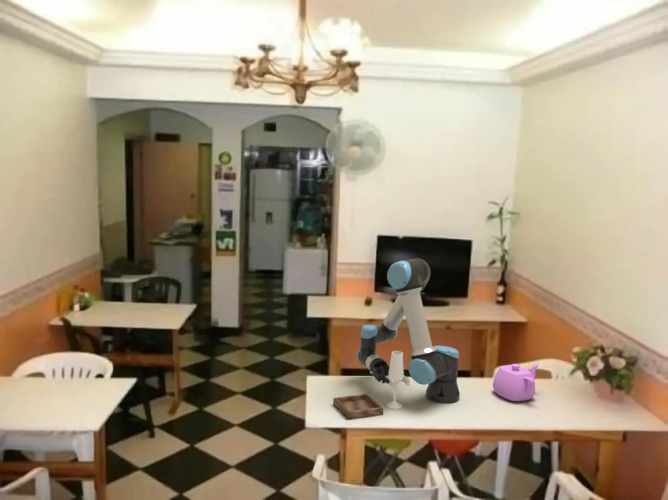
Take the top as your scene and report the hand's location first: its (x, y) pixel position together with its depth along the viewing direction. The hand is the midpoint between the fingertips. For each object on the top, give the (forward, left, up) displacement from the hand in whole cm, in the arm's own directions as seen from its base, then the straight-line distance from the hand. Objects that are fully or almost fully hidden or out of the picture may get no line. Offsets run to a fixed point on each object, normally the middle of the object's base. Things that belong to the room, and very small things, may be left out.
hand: (401, 383), depth 260 cm
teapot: (-59, +2, -12) cm, 60 cm away
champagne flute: (0, -5, -12) cm, 13 cm away
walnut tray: (+17, -6, -12) cm, 22 cm away
